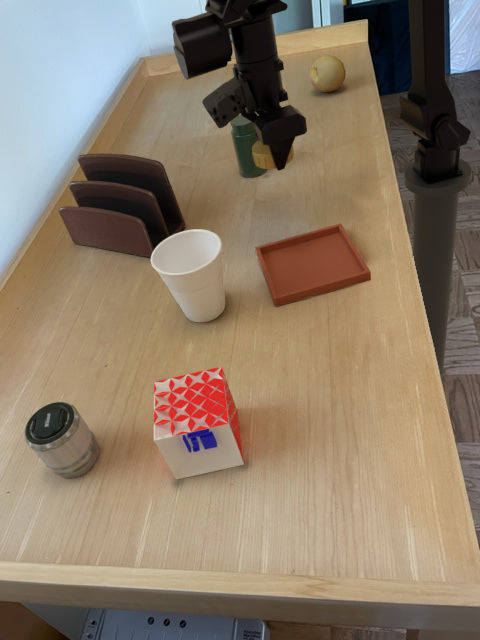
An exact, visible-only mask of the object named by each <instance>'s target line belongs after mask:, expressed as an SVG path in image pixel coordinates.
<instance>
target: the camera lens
mask: <svg viewBox="0 0 480 640" xmlns="http://www.w3.org/2000/svg"><path fill="white" fill-rule="evenodd" d="M24 441H25V443H26V444H27V445H28V446H29V447H30V449H31V450H32V452H34V453H35V454H36V456H37V457H38V458H39V459H40V460H41V461H42V462H43V463H44V465H45V467H47V469H48V470H49V471H51V472H53V474H55V475H57V476H59V477H61V478H63V479H74V478H79V477H80V476H82V475H85V474H86V473H87V472H88V471H89V470H91V468H92V467H93V466H94V465H95V463H96V462H97V460H98V457H99V450H100V446H99V444H98V441H97V439H96V436H95V434H94V432H93V430H92V429H91V427H90V426H89V425H88V424H87V422H86V421H85V419H84V418H83V417H82V415H81V413H80V412H79V411H78V409H77V407H75V406H74V405H73V404H71V403H69V402H66V401H65V402H64V401H56V402H51V403H49V404H46V405H43V406H42V407H41V408H39V409H38V410H36V411H35V412H34V413H33V414H32V415H31V417H30V418H29V419H28V421H27V423H26V425H25V429H24Z"/></svg>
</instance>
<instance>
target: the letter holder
mask: <svg viewBox="0 0 480 640" xmlns="http://www.w3.org/2000/svg"><path fill="white" fill-rule="evenodd" d="M77 162H78V165H79V166H80V168H81V171H82V173H83V175H84V176H85V179H86V180H72V181H70V182H69V184H68V188H69V190H70V193H71V194H72V195H71V196H72V197H73V199H74V201H75V203H76V204H77V206H72V205H71V206H70V205H69V206H61V207H59V208H58V214H59V216H60V218H61V221H62V223H63V224H64V226H65V228H66V230H67V233H68V235H69V237H70V239H71V241H72V242H73V243H74V244H77V245H82V246H88V247H93V248H98V249H103V250H108V251H113V252H119V253H124V254H130V255H135V256H140V257H145V258H150V259H151V255H152V252H153V251H154V249H155V248H156V247H157V246H158V245H159V244H160V243H161V242H162V241H163V240H165V239H166V238H168V237H170V236H172V235H174V234H176V233H179V232H182V231H184V229H185V227H186V221H185V219H184V216H183V214H182V211H181V208H180V205H179V203H178V201H177V197H176V194H175V191H174V189H173V185H172V183H171V181H170V179H169V175H168V174H167V170H166V168H165V165H164V164H163V163H162V162H161V161H159V160H157V159H151V158H147V157H143V156H139V155H130V154H123V153H86V154H79V155H78V156H77Z"/></svg>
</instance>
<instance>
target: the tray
mask: <svg viewBox="0 0 480 640" xmlns="http://www.w3.org/2000/svg"><path fill="white" fill-rule="evenodd" d="M254 249H255V253H256V256H257V259H258V262H259V265H260V268H261V270H262V273H263V276H264V279H265V281H266V284H267V287H268V289H269V293H270V296H271V298H272V300H273V303H274V307H280V306H283V305H287V304H291V303H294V302H298V301H301V300H305V299H309V298H312V297H316V296H320V295H324V294H327V293H331V292H334V291H337V290H341V289H345V288H349V287H352V286H356V285H359V284H362V283H366V282H370V281H372V273H371V270H370V268H369V267H368V265H367V263H366V261H365V260H364V258H363V257H362V255H361V253H360V251H358V249H357V247H356V245H355V244H354V242H353V241H352V239H351V237H350V236H349V234H348V232H347V231H346V229H345V227H344V226H343V224H342V223H341V222H340V223H337V224H333V225H329V226H326V227H323V228H319V229H314V230H311V231H308V232H305V233H300V234H298V235H294V236H291V237H287V238H284V239H283V238H282V239H280V240H276V241H272V242H269V243H265V244H262V245H259V246H255V247H254Z"/></svg>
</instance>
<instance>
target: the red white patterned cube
mask: <svg viewBox="0 0 480 640" xmlns="http://www.w3.org/2000/svg"><path fill="white" fill-rule="evenodd" d="M239 423H240V422H239V415H238V408H237V406H236V403H235V400H234V397H233V394H232V391H231V388H230V386H229V383H228V380H227V377H226V374H225V371H224V369H223V366H218V367H213V368H208V369H204V370H200V371H195V372H191V373H187V374H183V375H178V376H173V377H170V378H165V379H160V380H157V381H153V442H154V444H155V446H156V447H157V450H158V451H159V453H160V454H161V456H162V458H163V460H164V461H165V464H166V466H168V469H169V470H170V473H171V474H172V476H173V477H174V480H181V479H186V478H189V477H194V476H199V475H203V474H204V475H205V474H208V473H213V472H217V471H222V470H226V469H230V468H234V467H240V466H244V465H245V458H244V451H243V445H242V438H241V429H240V424H239Z"/></svg>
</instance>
